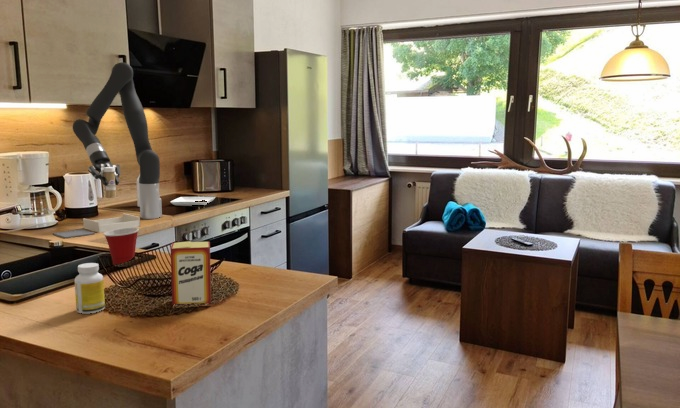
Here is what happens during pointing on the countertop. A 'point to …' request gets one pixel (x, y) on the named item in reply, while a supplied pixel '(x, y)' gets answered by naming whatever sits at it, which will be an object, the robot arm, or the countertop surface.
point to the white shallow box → (112, 223)
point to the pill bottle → (89, 289)
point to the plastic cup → (122, 244)
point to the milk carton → (138, 192)
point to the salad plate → (191, 201)
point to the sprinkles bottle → (110, 182)
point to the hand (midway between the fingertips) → (112, 184)
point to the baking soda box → (190, 272)
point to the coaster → (73, 233)
